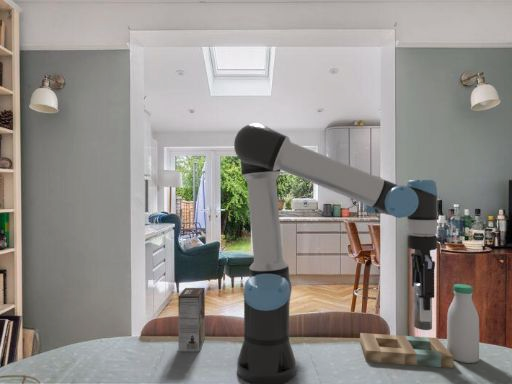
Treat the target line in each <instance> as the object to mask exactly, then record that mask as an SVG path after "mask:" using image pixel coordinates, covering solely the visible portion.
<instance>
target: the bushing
mask: <svg viewBox="0 0 512 384" xmlns="http://www.w3.org/2000/svg"><path fill="white" fill-rule="evenodd" d="M418 295H421V286H420V282H415V283H414V287H413V327H414V328H416V329H418V330H421V331H422V330H423V331H430V330H433V298H431V322H424V321H420V298H419V297H418Z"/></svg>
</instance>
